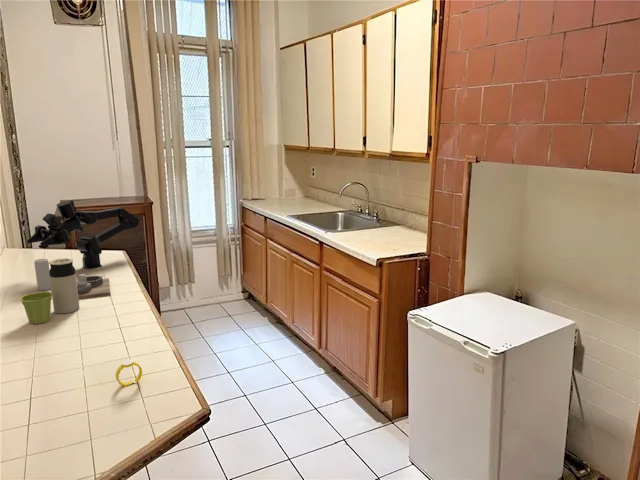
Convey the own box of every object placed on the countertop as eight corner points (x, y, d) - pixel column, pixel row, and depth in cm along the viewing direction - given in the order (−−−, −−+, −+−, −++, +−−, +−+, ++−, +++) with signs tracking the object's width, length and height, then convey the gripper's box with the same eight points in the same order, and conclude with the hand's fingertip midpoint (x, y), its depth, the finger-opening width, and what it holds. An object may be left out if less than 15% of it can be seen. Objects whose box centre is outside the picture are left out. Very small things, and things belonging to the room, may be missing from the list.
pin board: (66, 285, 194) (64, 268, 192) (109, 280, 200) (107, 263, 199) (63, 300, 176) (61, 281, 174) (110, 295, 183) (108, 276, 181)
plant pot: (16, 324, 155) (12, 298, 153) (42, 314, 163) (39, 290, 161) (36, 328, 151) (33, 302, 149) (62, 318, 160) (59, 293, 158)
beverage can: (47, 291, 187) (43, 261, 184) (35, 291, 187) (31, 261, 185) (54, 287, 192) (50, 258, 189) (42, 287, 192) (38, 258, 189)
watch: (119, 390, 115) (115, 368, 114) (116, 385, 117) (112, 364, 116) (144, 381, 118) (140, 360, 117) (141, 377, 121) (137, 356, 119)
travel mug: (84, 308, 169) (79, 259, 165) (64, 315, 162) (58, 264, 158) (69, 304, 172) (63, 256, 168) (48, 312, 165) (42, 262, 161)
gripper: (46, 208, 209) (12, 223, 197) (73, 212, 201) (39, 228, 189) (56, 231, 214) (23, 247, 203) (82, 235, 206) (50, 252, 194)
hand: (33, 243), depth 197 cm, fingers open, 9 cm apart
